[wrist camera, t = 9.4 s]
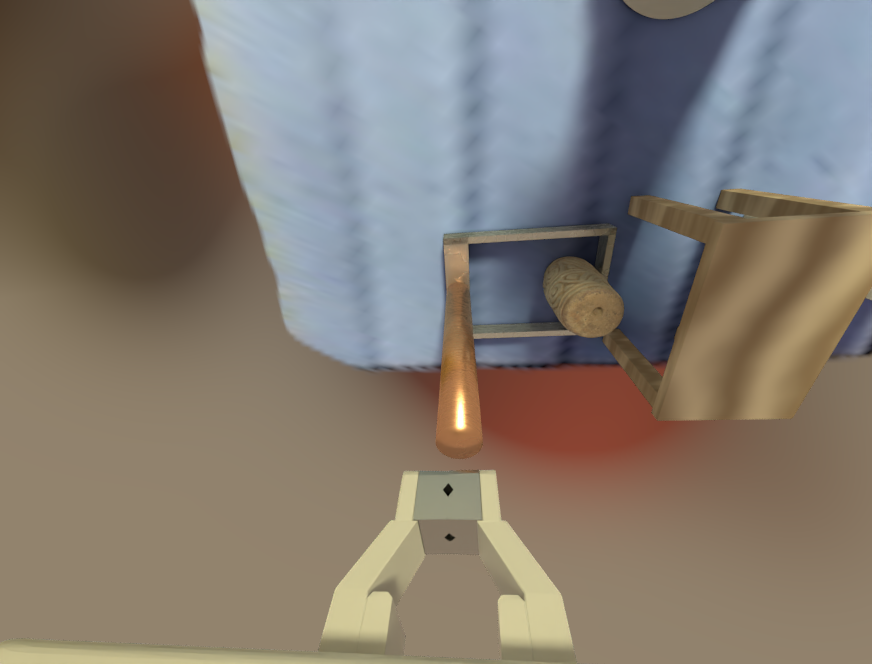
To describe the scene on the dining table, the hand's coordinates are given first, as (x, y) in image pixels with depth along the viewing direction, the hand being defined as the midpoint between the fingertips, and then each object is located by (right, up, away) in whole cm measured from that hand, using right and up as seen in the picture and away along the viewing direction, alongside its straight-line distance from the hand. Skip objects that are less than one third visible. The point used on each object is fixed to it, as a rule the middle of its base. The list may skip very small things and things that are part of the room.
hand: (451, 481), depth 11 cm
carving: (+17, +13, +33) cm, 39 cm away
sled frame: (+11, +12, +34) cm, 37 cm away
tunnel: (+29, +13, +32) cm, 45 cm away
